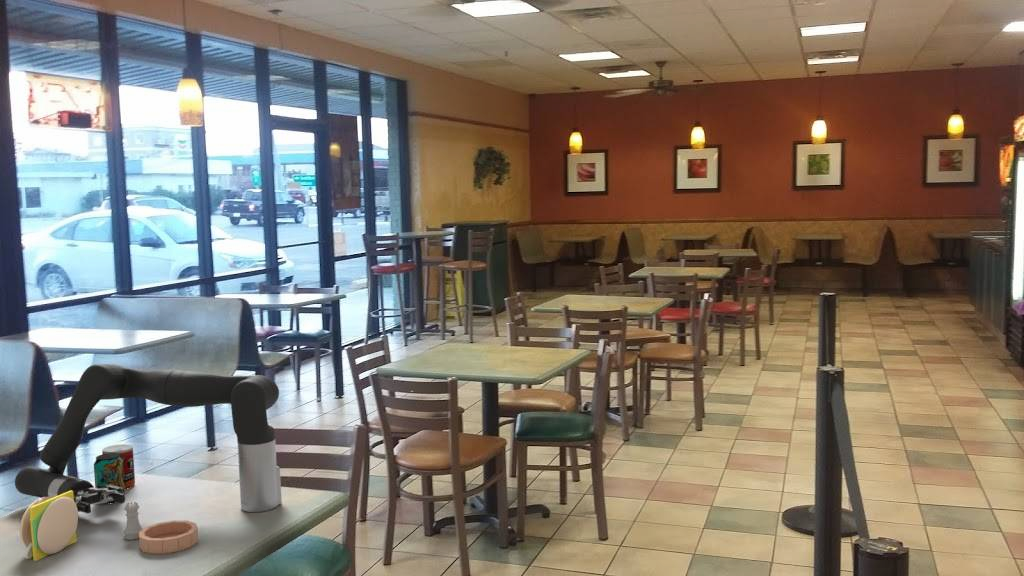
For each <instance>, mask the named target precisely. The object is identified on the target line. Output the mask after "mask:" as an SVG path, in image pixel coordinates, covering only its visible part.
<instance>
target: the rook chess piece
mask: <svg viewBox="0 0 1024 576" xmlns="http://www.w3.org/2000/svg"><path fill="white" fill-rule="evenodd" d="M123 509H124V511H126V514H125V516H126V526H125V528H124V530H123V537H122V538H124V539H125V540H126V539H127V540H126V541H135V540H134V539H136V540H138V539H137V538H139V532H140V531H141V530H143V529H144V528H143V527H142V525H141V524H140V520H139V514H140V513H139V512H138V511H139V509H140V506H139V505H138V502H137V501H134V502H133V501H132V502H131V501H130V503H129V502H127V503H126V504H125V507H124V508H123Z"/></svg>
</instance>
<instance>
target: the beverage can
mask: <svg viewBox="0 0 1024 576" xmlns="http://www.w3.org/2000/svg"><path fill="white" fill-rule="evenodd" d="M93 474H94V475H93V477H94V488H106V485H113V486H117V487H121V488H123V494H124V495H125V496H126V490H125V486H124V471H123V460H122V459H121V458H120V454H117V453H108V454H100V455H97V456H96V457H95V461H94V463H93ZM109 498H112V497H111V496H109ZM101 500H104V495H103V494H102V498H101ZM110 503H113V504H116V503H115V501H108V502H107V503H99V504H101V505H111V504H110Z"/></svg>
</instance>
